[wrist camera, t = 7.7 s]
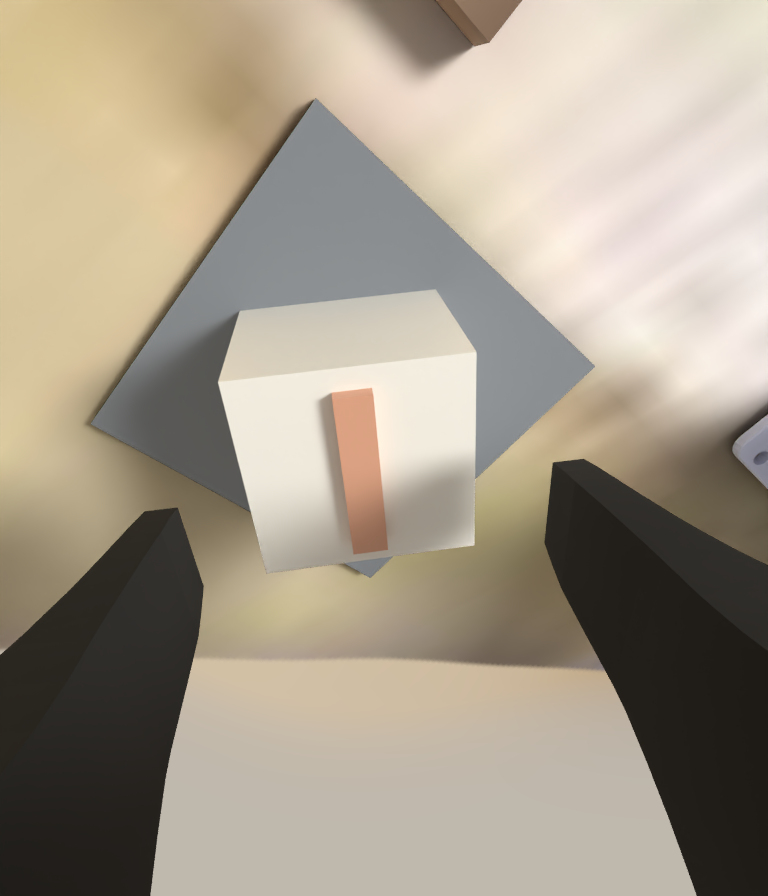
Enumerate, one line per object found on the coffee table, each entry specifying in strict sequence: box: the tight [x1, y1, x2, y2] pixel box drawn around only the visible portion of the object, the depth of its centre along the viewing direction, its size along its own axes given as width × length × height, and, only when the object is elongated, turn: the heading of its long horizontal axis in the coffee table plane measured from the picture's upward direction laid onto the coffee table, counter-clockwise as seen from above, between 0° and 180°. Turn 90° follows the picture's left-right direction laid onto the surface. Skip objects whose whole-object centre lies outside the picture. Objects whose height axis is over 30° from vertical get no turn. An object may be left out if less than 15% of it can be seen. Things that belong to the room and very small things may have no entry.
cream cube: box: [218, 289, 477, 574], centre depth 14 cm, size 5×5×4 cm
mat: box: [91, 98, 595, 578], centre depth 16 cm, size 10×10×1 cm
